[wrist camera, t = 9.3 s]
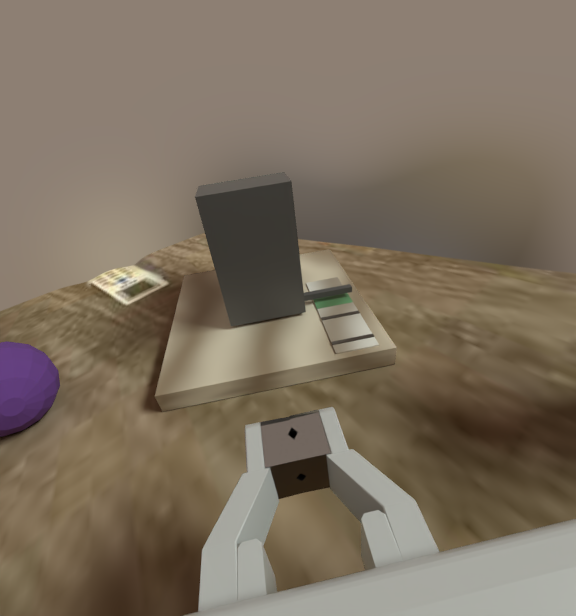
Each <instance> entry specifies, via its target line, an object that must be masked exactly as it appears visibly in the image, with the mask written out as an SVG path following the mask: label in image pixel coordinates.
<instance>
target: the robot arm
mask: <svg viewBox="0 0 576 616" xmlns="http://www.w3.org/2000/svg"><path fill="white" fill-rule="evenodd" d="M245 443H246V463H247V473H243V474H242V476H241V477H240V479H239V481H238V483H237V485H236V487H235V489H234V491H233V492H232V494H231V496H230V498H229V500H228V502H227V504H226V506H225V508H224V509H223V511H222V513H221V515H220V517H219V519H218V521H217V523H216V525H215V526H214V528H213V530H212V532H211V534H210V536H209V538H208V540H207V541H206V543H205V545H204V547H203V549H202V560H201V576H200V592H199V608H198V612H195V613H191V614H187V615H183V616H576V519H572V520H568V521H564V522H560V523H556V524H552V525H548V526H544V527H540V528H536V529H532V530H528V531H523V532H519V533H515V534H511V535H507V536H503V537H499V538H495V539H491V540H487V541H483V542H479V543H475V544H471V545H467V546H463V547H459V548H454V549H450V550H446V551H442V552H439V550H438V548H437V546H436V544H435V541H434V539H433V537H432V535H431V533H430V531H429V529H428V526H427V524H426V522H425V520H424V518H423V516H422V514H421V512H420V509H419V507H418V505H417V503H416V501H415V500H414V499H413V498H412V497H411V496H409V495H408V494H407V493H406V492H405V491H403V490H402V489H401V488H400V487H398V486H397V485H396V484H395V483H394V482H392V481H391V480H390V479H389V478H388V477H386V476H385V475H384V474H383V473H381V472H380V471H379V470H378V469H377V468H375V467H374V466H373V465H372V464H371V463H369V462H368V461H367V460H366V459H364V458H363V457H362V456H361V455H360V454H358V453H357V452H356V451H355V450H354V449H351V450H348V447H347V444H346V441H345V438H344V435H343V432H342V430H341V427H340V424H339V421H338V418H337V415H336V412H335V409H334V408H333V407H329V408H325V409H320V410H314V411H310V412H305V413H301V414H296V415H292V416H289V417H286V418H280V419H275V420H270V421H264V422H259V423H254V424H249V425H246V426H245ZM325 488H330V489H331V490H332V491H333V493H334V494H335V495H336V496H337V497H338V498H339V499H340V500H341V501H342V502H343V504H344V505H345V506H346V507H347V508H348V509H349V510H350V511H351V512H352V514H353V515H354V516H355V517H356V518H357V519H358V520H359V521H360V522H361V557H362V561H363V564H364V568H365V571H361V572H357V573H353V574H349V575H345V576H341V577H337V578H333V579H329V580H325V581H320V582H316V583H312V584H308V585H304V586H300V587H296V588H292V589H288V590H284V591H280V592H277V588H276V579H275V575H274V572H273V570H272V567H271V565H270V562H269V560H268V557H267V555H266V552H265V549H264V547H263V545H264V542H265V539H266V537H267V534H268V531H269V528H270V525H271V522H272V520H273V517H274V514H275V511H276V508H277V505H278V503H279V499H281V498H285V497H289V496H293V495H297V494H301V493H305V492H310V491H315V490H320V489H325Z"/></svg>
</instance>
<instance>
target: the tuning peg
mask: <svg viewBox="0 0 576 616" xmlns="http://www.w3.org/2000/svg"><path fill="white" fill-rule="evenodd" d="M195 198H196V202H197V205H198V209H199V213H200V216H201V220H202V224H203V227H204V230H205V234H206V238H207V242H208V245H209V249H210V253H211V256H212V260H213V263H214V267H215V271H216V274H217V278H218V282H219V285H220V289H221V292H222V296H223V300H224V303H225V307H226V311H227V314H228V318H229V321H230V325H231V326H237V325H242V324H247V323H252V322H258V321H263V320H268V319H273V318H278V317H284V316H289V315H294V314H299V313H304V312H306V309H305V301H308V300H313V299H318V298H323V297H329V296H334V295H339V294H344V293H350V292H352V286H351V285H350V284H347V285H342V286H337V287H331V288H326V289H321V290H315V291H310V292H305V293H304V291H303V282H302V273H301V264H300V255H299V246H298V237H297V229H296V219H295V210H294V201H293V192H292V183H291V180H290V179H289V178H288V176H287V175H286V174H285V173H284V172H282V173H276V174H270V175H264V176H258V177H251V178H245V179H239V180H234V181H227V182H221V183H215V184H209V185H203V186H199V187H198V190H197V193H196V196H195Z"/></svg>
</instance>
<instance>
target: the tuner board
mask: <svg viewBox="0 0 576 616" xmlns="http://www.w3.org/2000/svg"><path fill="white" fill-rule="evenodd" d="M300 264H301V273H302V282H303V291H304V293H305V292H310V291H315V290H321V289H326V288H331V287H337V286H342V285H347V284H350V285H351V286H352V292H350V293H344V294H339V295H334V296H329V297H323V298H318V299H313V300H308V301H305V309H306V312H304V313H299V314H294V315H289V316H284V317H278V318H273V319H268V320H263V321H258V322H252V323H247V324H242V325H237V326H231V325H230V321H229V318H228V314H227V311H226V307H225V303H224V300H223V296H222V292H221V289H220V285H219V282H218V278H217V274H216V271H215V270H212V271H207V272H201V273H196V274H190V275H185V276H184V279H183V283H182V287H181V291H180V295H179V299H178V303H177V307H176V311H175V316H174V320H173V324H172V328H171V332H170V336H169V340H168V344H167V348H166V352H165V356H164V360H163V364H162V368H161V373H160V377H159V381H158V385H157V389H156V393H155V398H156V400H157V402H158V404H159V406H160V408H161V410H162V412H164V411H168V410H173V409H178V408H183V407H188V406H193V405H198V404H203V403H207V402H212V401H217V400H222V399H227V398H232V397H237V396H241V395H246V394H251V393H256V392H261V391H266V390H271V389H276V388H280V387H285V386H290V385H295V384H300V383H305V382H310V381H315V380H319V379H324V378H329V377H334V376H339V375H344V374H349V373H353V372H358V371H363V370H368V369H373V368H378V367H383V366H388V365H392V364H395V359H396V346H395V345H394V343H393V342H392V340H391V339H390V337H389V336H388V334H387V333H386V331H385V330H384V328H383V327H382V325H381V324H380V322H379V321H378V320H377V318H376V317H375V315H374V314H373V312H372V311H371V309H370V308H369V306H368V305H367V303H366V302H365V300H364V299H363V297H362V296H361V295H360V293H359V292H358V290H357V289H356V287H355V286H354V284H353V283H352V281H351V280H350V278H349V277H348V275H347V274H346V272H345V271H344V270H343V268H342V267H341V265H340V264H339V262H338V261H337V259H336V258H335V256H334V255H333V253H332V252H331V250H330V249H329V250H323V251H318V252H312V253H307V254H301V255H300Z"/></svg>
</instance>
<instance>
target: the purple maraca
mask: <svg viewBox="0 0 576 616" xmlns="http://www.w3.org/2000/svg"><path fill="white" fill-rule="evenodd" d="M59 387H60V383H59V373H58V370H57V368H56V367H55V366H54V364H53V363H52V362H51V360H50V359H49V358H48V356H47V355H46V354H45V353H44V352H42V351H40V350H38V349H36V348H34V347H32V346H31V345H29V344H22V343H14V342H2V343H0V436H6V435H9V434H12V433H16V432H19V431H22V430H24V429H26V428H27V427H29V426H30V425H32V424H34V423H35V422H37V421H38V420H40V419H41V418H42V417H43V415H44V414H45V413H46V412H47V411H48V410H49V409H50V408H51V406H52V404H53V402H54V400H55V397H56V394H57V392H58V389H59Z"/></svg>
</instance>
